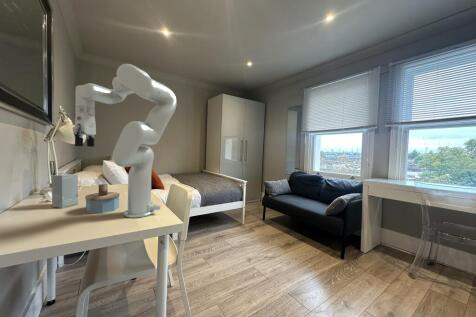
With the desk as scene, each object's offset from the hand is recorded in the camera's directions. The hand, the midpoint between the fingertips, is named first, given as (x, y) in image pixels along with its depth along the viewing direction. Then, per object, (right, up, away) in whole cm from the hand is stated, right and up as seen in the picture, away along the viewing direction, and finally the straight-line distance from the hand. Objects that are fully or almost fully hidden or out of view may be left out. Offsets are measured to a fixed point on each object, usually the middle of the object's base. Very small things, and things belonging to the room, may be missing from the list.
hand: (85, 146), depth 99 cm
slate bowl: (+11, -31, -3) cm, 33 cm away
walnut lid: (+11, -25, -3) cm, 27 cm away
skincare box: (-11, -30, +1) cm, 32 cm away
